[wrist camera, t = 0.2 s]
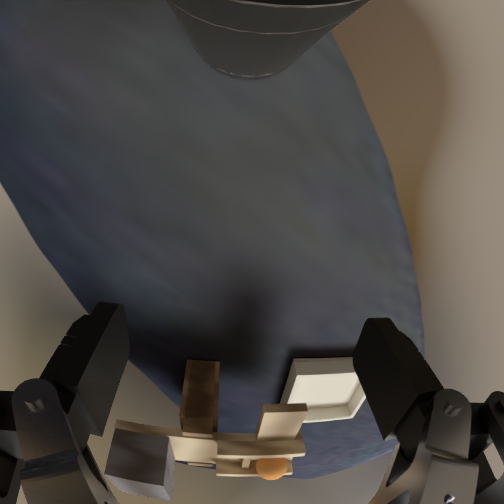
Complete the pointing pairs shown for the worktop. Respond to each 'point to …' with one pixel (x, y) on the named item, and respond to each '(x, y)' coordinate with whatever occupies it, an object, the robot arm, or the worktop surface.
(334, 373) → the dish
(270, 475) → the ball
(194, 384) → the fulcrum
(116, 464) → the lever
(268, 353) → the worktop surface
